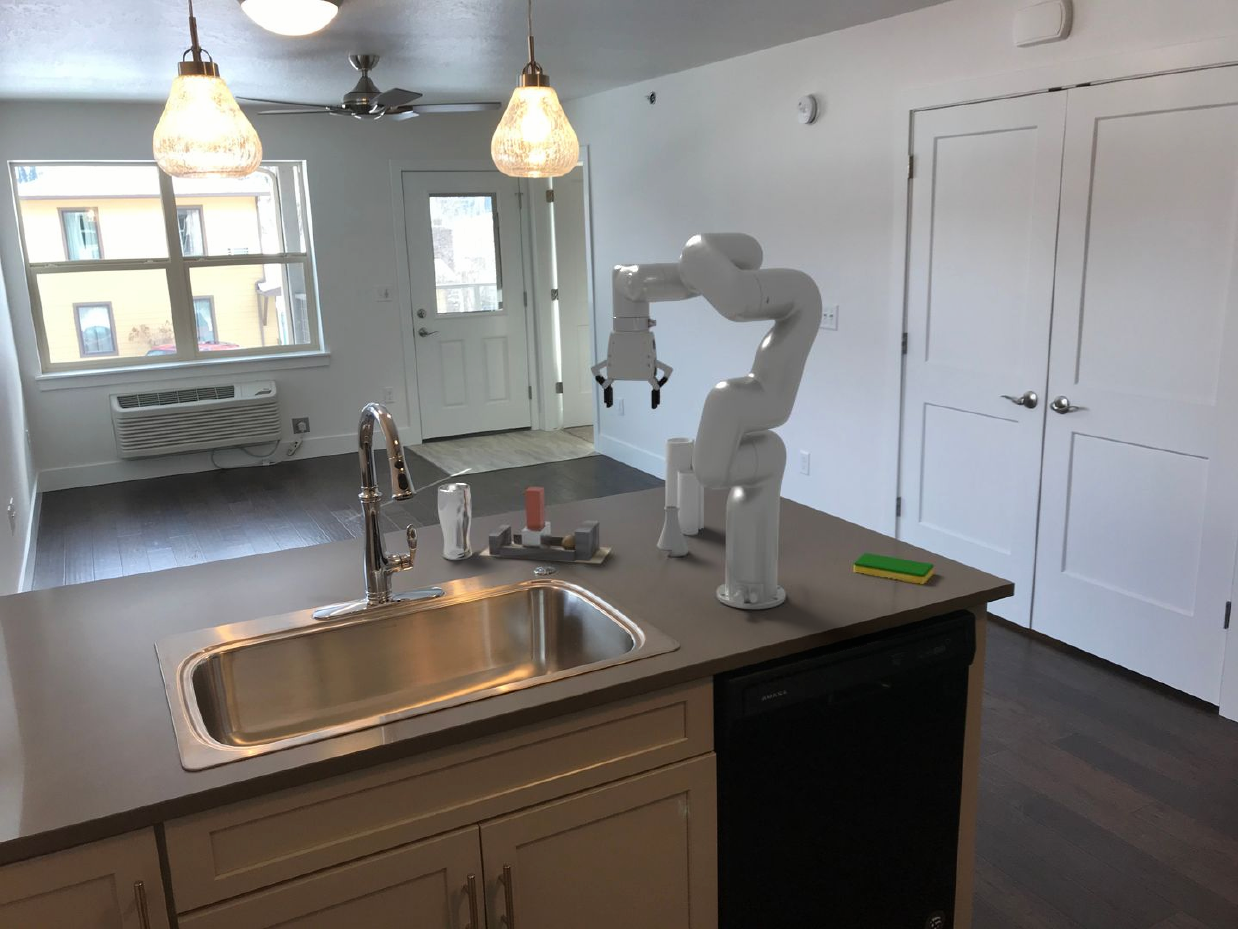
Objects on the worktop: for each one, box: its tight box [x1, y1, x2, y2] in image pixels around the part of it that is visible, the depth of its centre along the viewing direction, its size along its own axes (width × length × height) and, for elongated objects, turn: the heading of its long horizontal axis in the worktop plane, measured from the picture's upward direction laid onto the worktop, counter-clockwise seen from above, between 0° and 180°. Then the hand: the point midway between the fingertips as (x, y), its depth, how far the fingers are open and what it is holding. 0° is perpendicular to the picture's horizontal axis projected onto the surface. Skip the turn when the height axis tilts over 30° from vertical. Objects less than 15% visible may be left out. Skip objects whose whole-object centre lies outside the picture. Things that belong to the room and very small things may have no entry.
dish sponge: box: [853, 552, 935, 585], centre depth 190 cm, size 7×14×2 cm, turn 58°
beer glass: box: [437, 482, 473, 561], centre depth 202 cm, size 7×7×15 cm
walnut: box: [562, 534, 575, 550], centre depth 199 cm, size 4×4×4 cm
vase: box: [664, 437, 705, 536], centre depth 219 cm, size 11×7×20 cm, turn 27°
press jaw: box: [521, 486, 552, 549], centre depth 200 cm, size 7×4×13 cm, turn 166°
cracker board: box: [478, 520, 613, 564], centre depth 200 cm, size 10×26×8 cm, turn 77°
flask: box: [656, 505, 689, 558], centre depth 203 cm, size 7×7×10 cm
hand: (632, 407), depth 202 cm, fingers open, 9 cm apart
